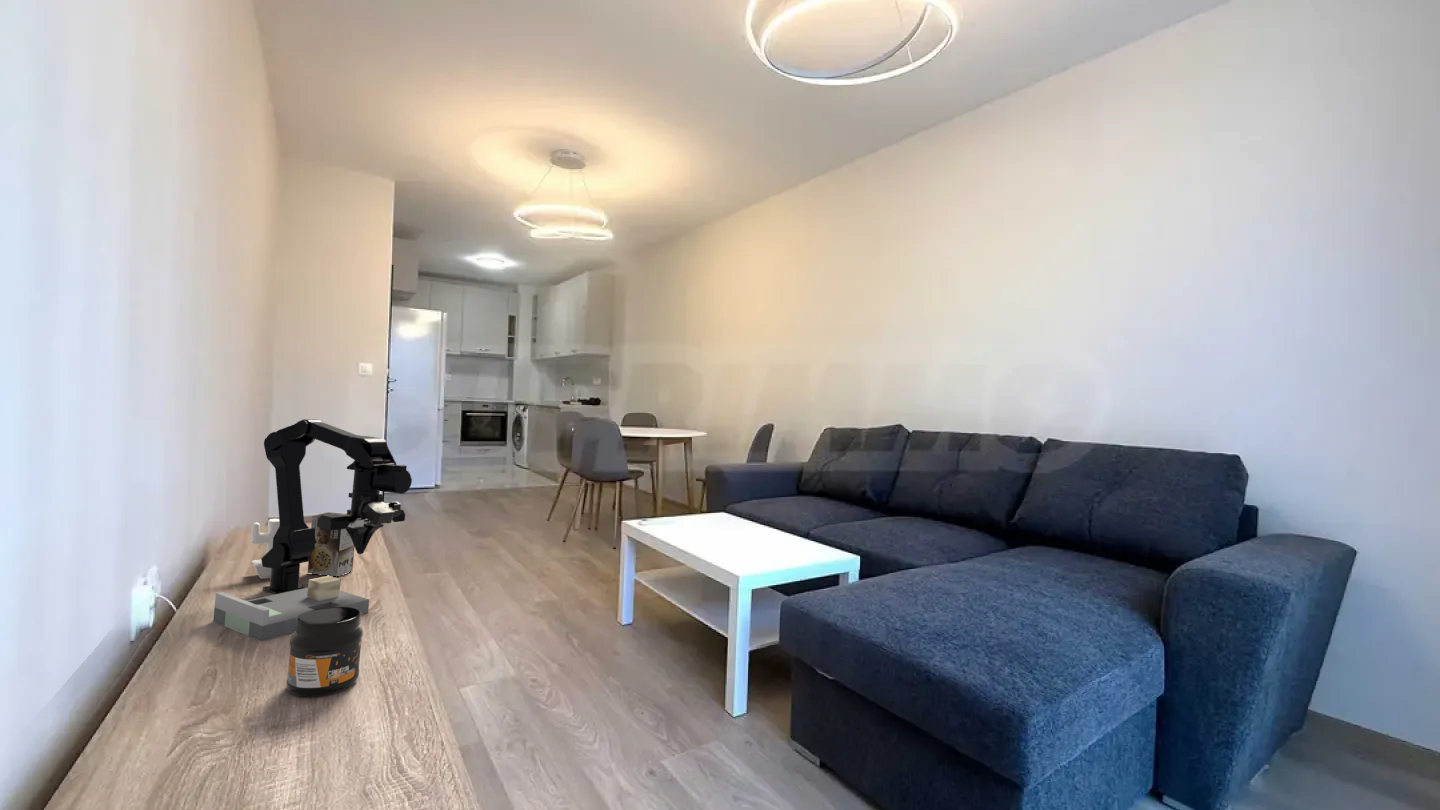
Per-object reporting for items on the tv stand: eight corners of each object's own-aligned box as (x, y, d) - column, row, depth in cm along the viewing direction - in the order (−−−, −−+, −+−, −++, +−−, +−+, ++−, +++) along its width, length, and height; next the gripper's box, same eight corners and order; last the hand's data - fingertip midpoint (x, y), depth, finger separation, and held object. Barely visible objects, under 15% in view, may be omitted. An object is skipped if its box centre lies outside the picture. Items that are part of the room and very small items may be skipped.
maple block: (307, 597, 136) (308, 579, 136) (327, 592, 140) (328, 575, 140) (319, 601, 134) (320, 583, 134) (339, 596, 138) (340, 579, 138)
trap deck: (213, 621, 126) (215, 592, 126) (320, 596, 146) (323, 572, 146) (261, 641, 118) (263, 610, 118) (368, 612, 138) (370, 586, 138)
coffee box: (353, 571, 168) (358, 514, 168) (336, 577, 162) (342, 518, 162) (323, 568, 169) (328, 511, 169) (305, 574, 162) (311, 515, 163)
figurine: (293, 576, 160) (299, 520, 160) (249, 581, 153) (255, 523, 153) (288, 570, 165) (293, 515, 165) (244, 574, 158) (250, 518, 158)
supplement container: (294, 705, 95) (301, 630, 96) (278, 682, 102) (285, 612, 103) (367, 687, 103) (373, 617, 103) (348, 666, 110) (353, 601, 110)
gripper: (349, 497, 133) (342, 567, 133) (422, 490, 150) (416, 552, 150) (318, 490, 138) (312, 558, 138) (393, 485, 155) (387, 545, 154)
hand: (360, 553), depth 145 cm, fingers closed
